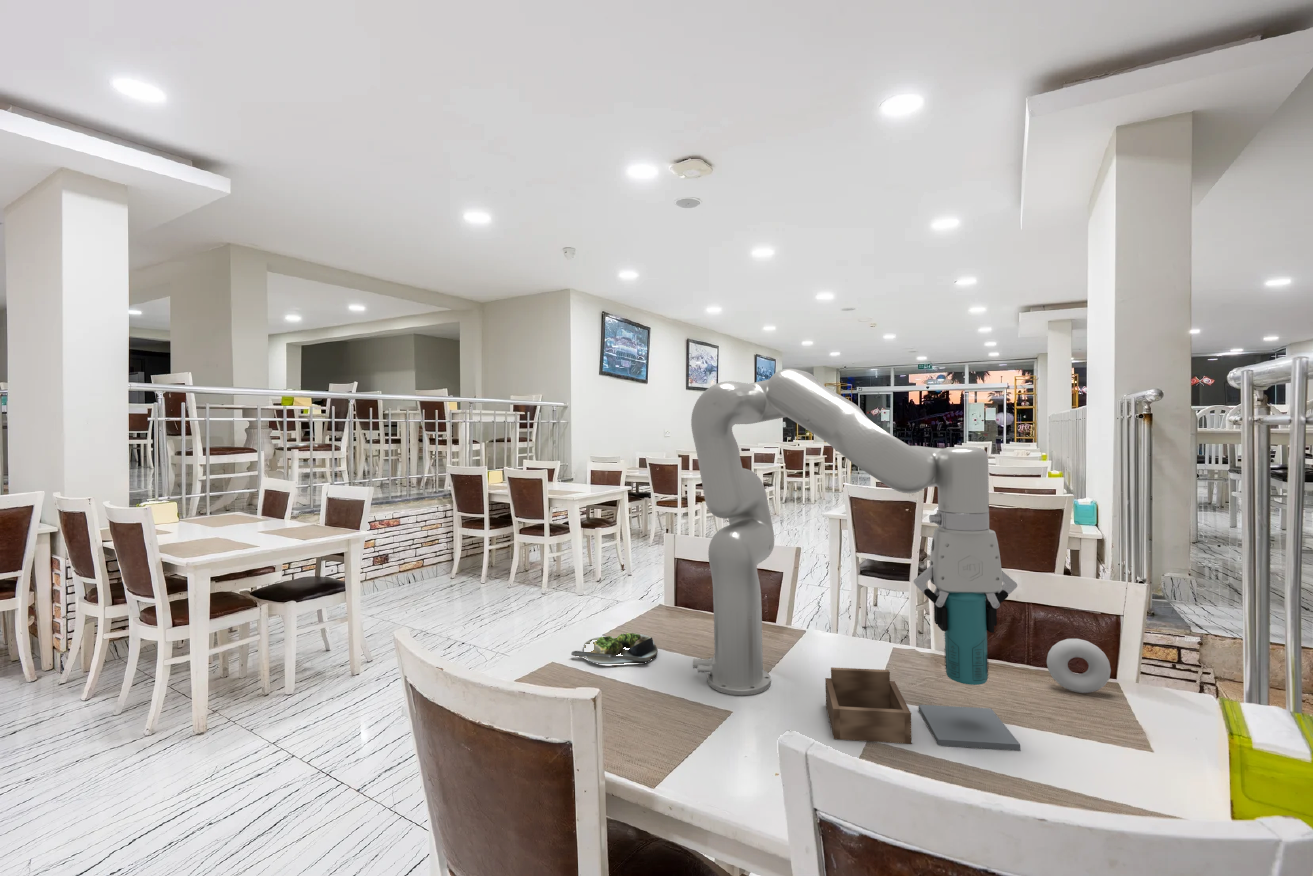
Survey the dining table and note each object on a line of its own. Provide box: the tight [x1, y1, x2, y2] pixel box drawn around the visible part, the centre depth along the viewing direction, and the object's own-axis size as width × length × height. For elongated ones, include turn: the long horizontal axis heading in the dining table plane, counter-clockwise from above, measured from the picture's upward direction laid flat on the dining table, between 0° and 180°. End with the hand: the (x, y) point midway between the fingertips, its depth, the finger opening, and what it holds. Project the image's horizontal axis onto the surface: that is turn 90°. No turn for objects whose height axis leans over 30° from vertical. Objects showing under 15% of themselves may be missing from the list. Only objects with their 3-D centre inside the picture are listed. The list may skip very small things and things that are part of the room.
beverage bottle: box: [943, 593, 990, 686], centre depth 100 cm, size 6×7×20 cm
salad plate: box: [571, 632, 659, 664], centre depth 137 cm, size 19×18×5 cm
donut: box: [1046, 638, 1112, 694], centre depth 113 cm, size 10×4×10 cm, turn 65°
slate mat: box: [917, 704, 1021, 752], centre depth 101 cm, size 12×12×1 cm
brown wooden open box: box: [824, 666, 912, 745], centre depth 103 cm, size 12×12×7 cm
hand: (965, 628), depth 100 cm, fingers closed on beverage bottle, 6 cm apart
